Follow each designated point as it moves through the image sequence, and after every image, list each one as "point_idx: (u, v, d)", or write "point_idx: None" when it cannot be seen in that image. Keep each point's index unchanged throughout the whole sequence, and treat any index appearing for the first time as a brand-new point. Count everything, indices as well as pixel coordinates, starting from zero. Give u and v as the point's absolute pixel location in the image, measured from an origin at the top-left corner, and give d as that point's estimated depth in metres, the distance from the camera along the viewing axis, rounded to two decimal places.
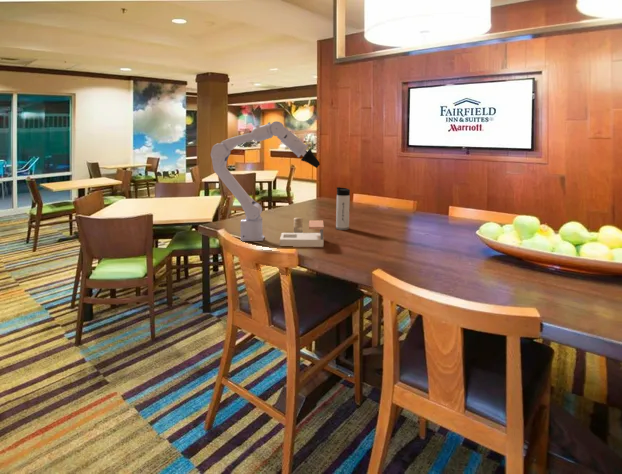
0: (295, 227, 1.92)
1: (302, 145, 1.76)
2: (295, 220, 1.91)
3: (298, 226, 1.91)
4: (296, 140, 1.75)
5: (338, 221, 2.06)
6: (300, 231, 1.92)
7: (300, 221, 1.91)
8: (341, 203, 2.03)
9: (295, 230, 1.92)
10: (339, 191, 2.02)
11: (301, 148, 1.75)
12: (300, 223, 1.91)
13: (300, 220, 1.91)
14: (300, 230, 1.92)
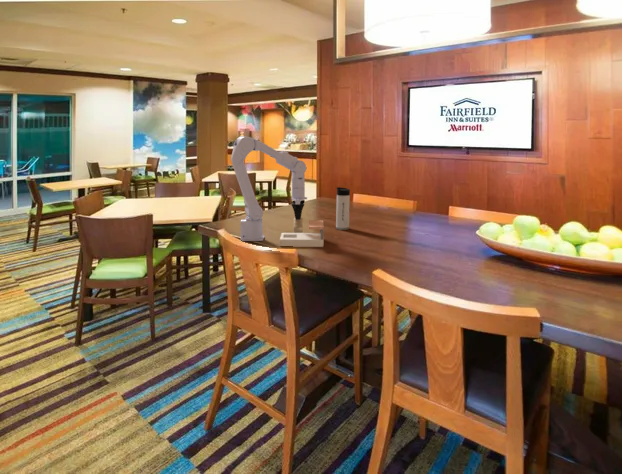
0: (295, 227, 1.92)
1: (302, 195, 1.88)
2: (295, 220, 1.91)
3: (298, 226, 1.91)
4: (302, 188, 1.87)
5: (338, 221, 2.06)
6: (300, 231, 1.92)
7: (300, 221, 1.91)
8: (341, 203, 2.03)
9: (295, 230, 1.92)
10: (339, 191, 2.02)
11: (299, 196, 1.87)
12: (300, 223, 1.91)
13: (300, 220, 1.91)
14: (300, 230, 1.92)
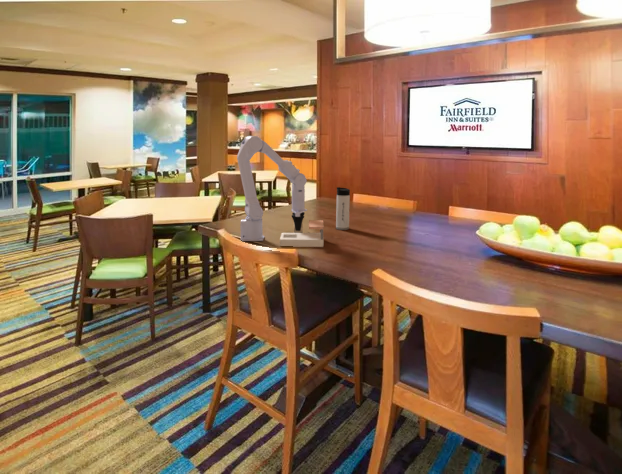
0: None
1: (302, 207, 1.89)
2: None
3: None
4: (302, 200, 1.88)
5: (338, 221, 2.06)
6: (300, 231, 1.92)
7: None
8: (341, 203, 2.03)
9: (295, 230, 1.92)
10: (339, 191, 2.02)
11: (299, 208, 1.89)
12: None
13: None
14: (300, 230, 1.92)
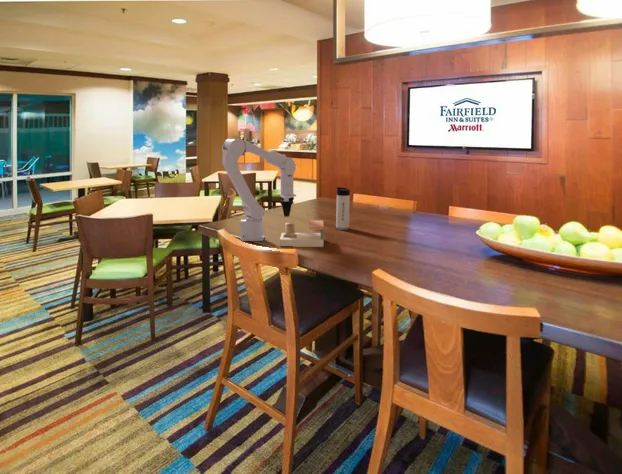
0: (287, 233, 1.79)
1: (291, 192, 1.89)
2: (287, 225, 1.78)
3: (290, 232, 1.79)
4: (290, 185, 1.88)
5: (338, 221, 2.06)
6: (292, 237, 1.80)
7: (292, 226, 1.78)
8: (341, 203, 2.03)
9: (287, 236, 1.79)
10: (339, 191, 2.02)
11: (288, 193, 1.88)
12: (292, 228, 1.79)
13: (292, 225, 1.78)
14: (292, 236, 1.80)
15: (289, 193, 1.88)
